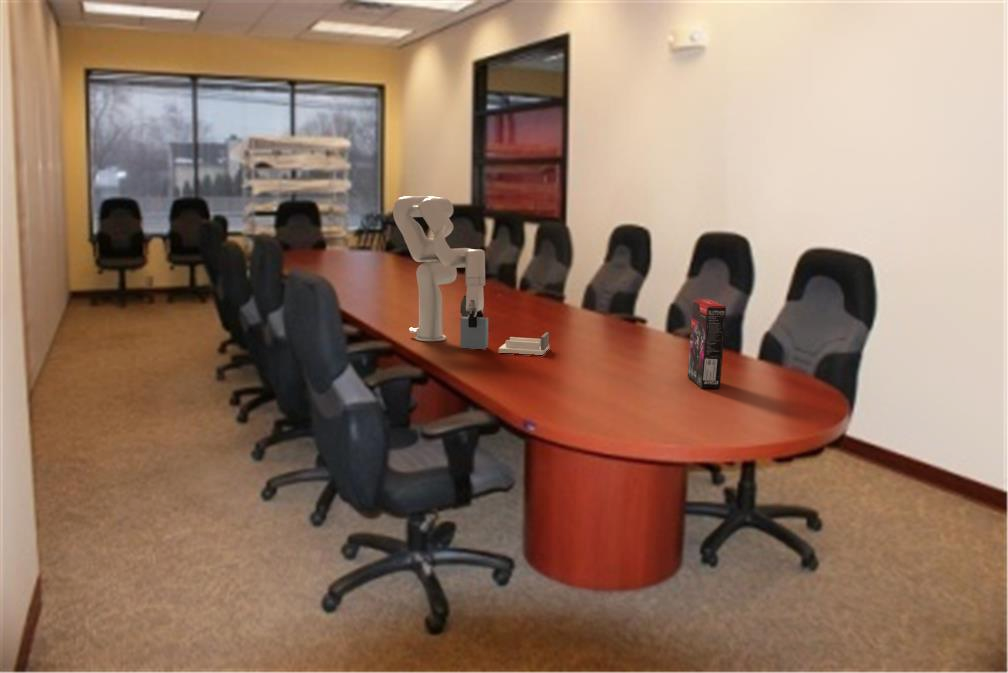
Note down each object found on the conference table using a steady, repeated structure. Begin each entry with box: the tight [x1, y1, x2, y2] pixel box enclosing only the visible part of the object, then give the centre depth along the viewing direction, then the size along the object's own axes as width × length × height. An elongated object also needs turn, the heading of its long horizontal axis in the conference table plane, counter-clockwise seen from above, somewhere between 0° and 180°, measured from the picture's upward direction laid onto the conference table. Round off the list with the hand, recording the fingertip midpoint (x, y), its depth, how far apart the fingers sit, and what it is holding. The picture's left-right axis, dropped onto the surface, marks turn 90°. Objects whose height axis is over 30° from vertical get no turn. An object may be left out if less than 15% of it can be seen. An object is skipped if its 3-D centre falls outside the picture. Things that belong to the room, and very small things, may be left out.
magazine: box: [459, 295, 469, 317], centre depth 405 cm, size 17×3×30 cm
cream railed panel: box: [498, 332, 550, 356], centre depth 342 cm, size 17×14×7 cm
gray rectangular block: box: [460, 316, 489, 350], centre depth 346 cm, size 10×4×12 cm, turn 77°
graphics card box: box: [687, 298, 727, 389], centre depth 293 cm, size 17×7×27 cm, turn 5°
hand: (476, 325), depth 345 cm, fingers open, 9 cm apart
